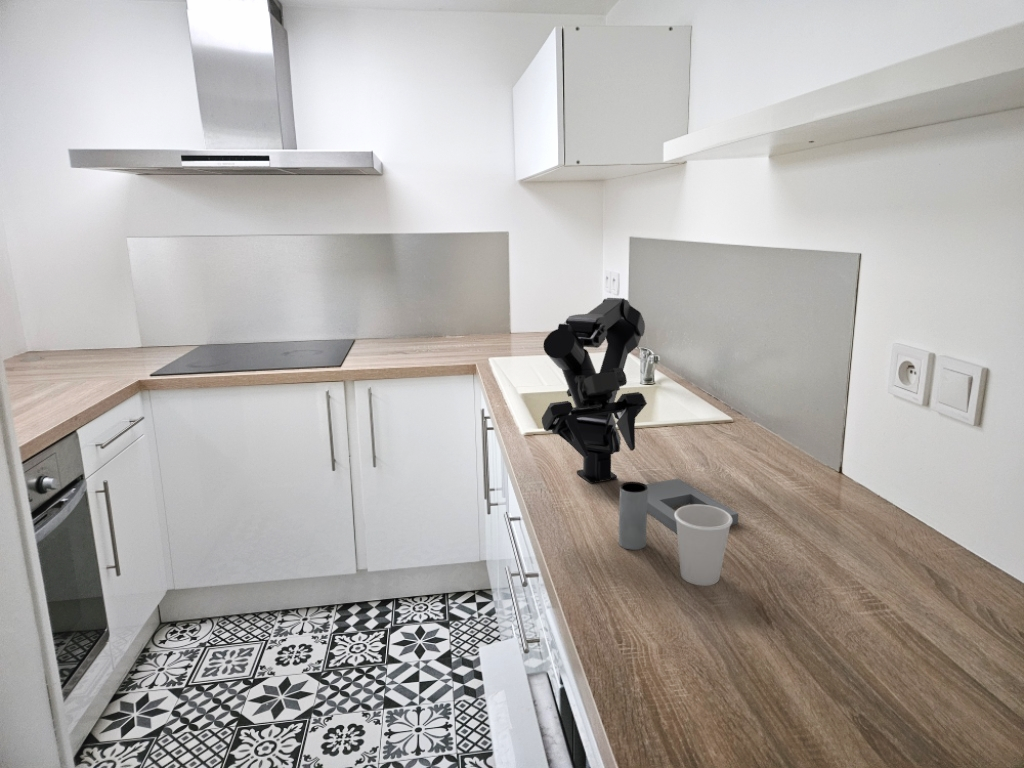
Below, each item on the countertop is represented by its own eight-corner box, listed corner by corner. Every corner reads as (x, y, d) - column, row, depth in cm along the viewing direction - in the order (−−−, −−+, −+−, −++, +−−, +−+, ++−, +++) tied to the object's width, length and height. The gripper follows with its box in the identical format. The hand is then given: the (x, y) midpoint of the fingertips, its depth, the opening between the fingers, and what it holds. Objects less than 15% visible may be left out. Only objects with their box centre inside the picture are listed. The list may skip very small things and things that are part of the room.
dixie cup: (691, 556, 110) (694, 499, 107) (739, 576, 104) (743, 515, 101) (660, 575, 104) (663, 515, 102) (708, 597, 98) (712, 533, 96)
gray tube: (627, 535, 117) (628, 479, 115) (650, 542, 115) (652, 485, 112) (613, 545, 114) (614, 487, 112) (637, 552, 111) (639, 494, 109)
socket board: (626, 497, 133) (626, 487, 132) (678, 487, 137) (678, 478, 137) (680, 536, 117) (681, 525, 116) (737, 523, 121) (738, 513, 120)
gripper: (548, 358, 116) (577, 438, 108) (642, 348, 122) (676, 424, 115) (530, 392, 125) (556, 468, 117) (619, 381, 131) (649, 453, 124)
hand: (610, 453), depth 118 cm, fingers open, 9 cm apart
